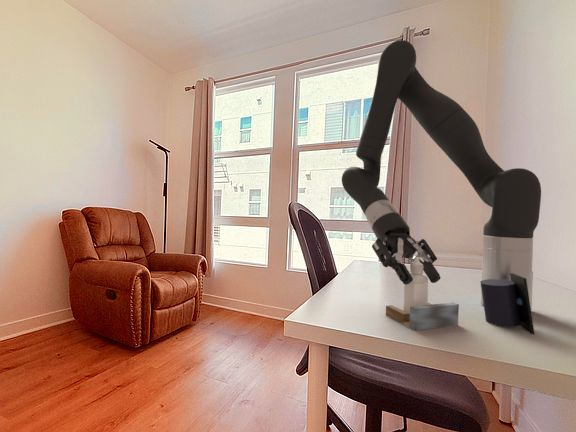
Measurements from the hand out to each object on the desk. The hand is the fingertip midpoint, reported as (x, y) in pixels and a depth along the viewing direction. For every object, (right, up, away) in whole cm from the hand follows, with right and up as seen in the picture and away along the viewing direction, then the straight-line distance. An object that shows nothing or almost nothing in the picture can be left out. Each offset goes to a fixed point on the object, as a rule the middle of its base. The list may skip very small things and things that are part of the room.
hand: (423, 281), depth 53 cm
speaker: (+16, -9, -1) cm, 18 cm away
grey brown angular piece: (0, -8, 0) cm, 8 cm away
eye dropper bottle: (-1, -7, +2) cm, 8 cm away
